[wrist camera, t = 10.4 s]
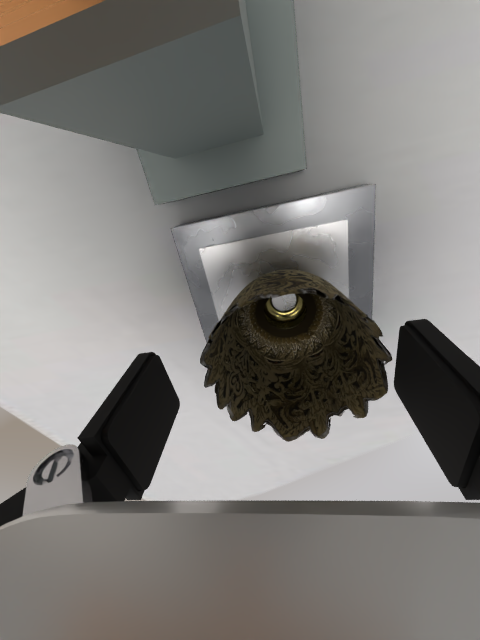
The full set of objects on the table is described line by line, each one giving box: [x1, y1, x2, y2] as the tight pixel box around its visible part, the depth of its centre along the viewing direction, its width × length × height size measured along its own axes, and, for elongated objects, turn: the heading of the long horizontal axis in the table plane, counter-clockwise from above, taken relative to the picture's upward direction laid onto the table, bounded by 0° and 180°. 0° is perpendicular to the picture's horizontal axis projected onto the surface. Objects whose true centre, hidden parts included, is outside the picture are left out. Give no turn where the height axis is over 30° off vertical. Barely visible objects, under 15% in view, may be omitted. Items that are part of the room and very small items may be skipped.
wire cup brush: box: [200, 270, 392, 441], centre depth 14 cm, size 8×7×8 cm
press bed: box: [171, 184, 376, 342], centre depth 18 cm, size 12×12×2 cm
